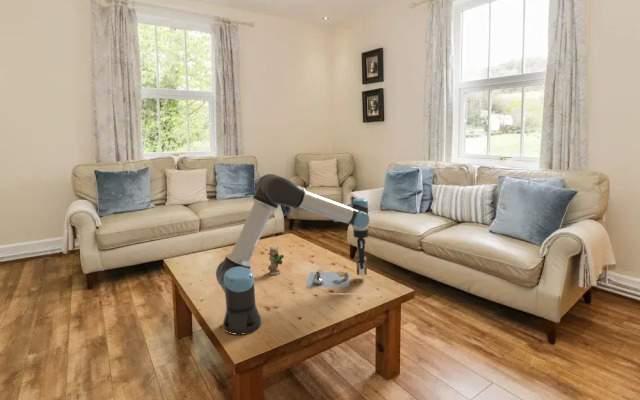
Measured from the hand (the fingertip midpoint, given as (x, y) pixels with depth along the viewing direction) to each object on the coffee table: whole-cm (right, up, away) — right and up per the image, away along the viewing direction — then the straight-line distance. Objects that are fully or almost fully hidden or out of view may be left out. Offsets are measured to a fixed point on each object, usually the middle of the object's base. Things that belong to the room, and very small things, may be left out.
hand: (361, 271), depth 192 cm
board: (-17, -5, +2) cm, 18 cm away
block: (0, -1, 0) cm, 1 cm away
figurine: (-46, -4, +14) cm, 48 cm away
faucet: (-22, -4, +2) cm, 22 cm away
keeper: (-10, -5, 0) cm, 11 cm away
